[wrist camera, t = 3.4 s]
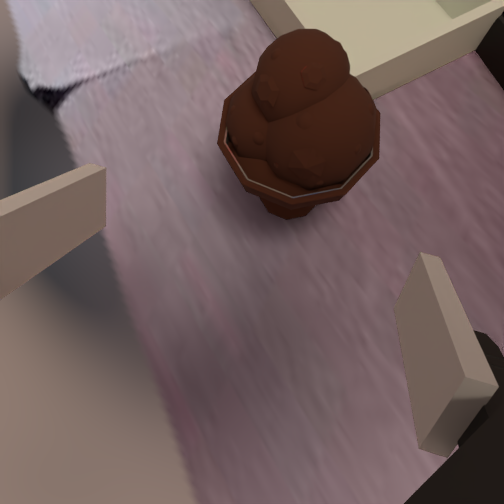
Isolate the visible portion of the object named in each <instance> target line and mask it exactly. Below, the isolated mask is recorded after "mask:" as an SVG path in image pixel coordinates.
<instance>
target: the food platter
mask: <svg viewBox="0 0 504 504" xmlns="http://www.w3.org/2000/svg"><path fill="white" fill-rule="evenodd" d="M502 13H503V12H502ZM475 51H476V52H477V53H478V55H479V56H480V58H481V59H482V60H483V62H484V63H485V65H486V66H487V67H488V69H489V70H490V72H491V73H492V74H493V76H494V77H495V79H496V80H497V81H498V83H499V84H500V86H501V87H502V88H503V90H504V15H503V14H501V15H500V16H499V17H498V18H497V19H496V20H495V22H494V23H493V25H492V26H491V28H490V29H489V30H488V32H487V33H486V35H485V36H484V38H483V39H482V41H481V42H480V44H479V45H478V47H477V48H476V50H475Z"/></svg>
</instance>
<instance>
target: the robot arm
mask: <svg viewBox="0 0 504 504" xmlns="http://www.w3.org/2000/svg"><path fill="white" fill-rule="evenodd" d="M105 226H106V168H105V167H102V166H98V165H94V164H90V163H89V164H87V165H84V166H82V167H79V168H77V169H74V170H72V171H70V172H67V173H65V174H62V175H61V176H58V177H55V178H53V179H50V180H48V181H46V182H43V183H41V184H38V185H36V186H33V187H31V188H29V189H26V190H24V191H21V192H19V193H17V194H14V195H12V196H9V197H7V198H5V199H2V200H0V300H1V299H3V298H4V297H5V296H7V295H8V294H10V293H11V292H13V291H14V290H15V289H17V288H18V287H20V286H21V285H23V284H24V283H25V282H27V281H28V280H30V279H31V278H32V277H34V276H35V275H37V274H38V273H40V272H41V271H42V270H44V269H45V268H47V267H48V266H50V265H51V264H52V263H54V262H55V261H57V260H58V259H60V258H61V257H62V256H64V255H65V254H66V253H68V252H70V251H71V250H72V249H74V248H75V247H77V246H78V245H80V244H81V243H82V242H84V241H85V240H87V239H88V238H89V237H91V236H92V235H94V234H95V233H97V232H98V231H100V230H101V229H102V228H104V227H105ZM394 313H395V318H396V324H397V329H398V335H399V340H400V346H401V352H402V357H403V363H404V368H405V374H406V380H407V385H408V391H409V396H410V402H411V407H412V413H413V419H414V424H415V430H416V435H417V441H418V446H419V449H422V450H425V451H428V452H431V453H434V454H437V455H440V456H443V457H447V458H448V457H449V455H450V454H451V452H452V451H453V450H454V448H455V447H456V446H457V444H458V445H459V449H458V450H457V451H456V452H455V453H454V454H453V455H452V456H451V457H450V458H449V459H448V460H447V461H446V462H445V463H444V464H443V465H442V466H441V467H440V468H439V469H438V470H437V471H436V472H435V473H434V474H433V475H432V476H431V477H430V478H429V479H428V480H427V481H426V482H425V483H424V484H423V485H422V486H421V487H420V488H419V489H418V490H417V491H416V492H415V493H414V494H413V495H412V496H411V497H410V498H409V499H408V500H407V501H406V502H405V503H404V504H504V357H503V355H502V353H501V351H500V349H499V347H498V346H497V345H496V344H495V343H494V342H493V341H492V340H491V339H490V338H489V337H488V336H487V334H485V333H481V332H477V331H474V330H473V329H472V327H471V324H470V322H469V320H468V318H467V316H466V313H465V311H464V309H463V307H462V305H461V302H460V300H459V298H458V296H457V294H456V291H455V289H454V287H453V285H452V283H451V280H450V278H449V276H448V274H447V272H446V269H445V267H444V265H443V263H442V261H441V258H440V257H437V256H433V255H429V254H426V253H422V252H420V253H419V255H418V257H417V259H416V262H415V264H414V266H413V268H412V270H411V272H410V274H409V277H408V279H407V281H406V283H405V285H404V287H403V289H402V292H401V294H400V296H399V298H398V300H397V302H396V305H395V307H394Z"/></svg>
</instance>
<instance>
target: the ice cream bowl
mask: <svg viewBox="0 0 504 504" xmlns="http://www.w3.org/2000/svg"><path fill="white" fill-rule="evenodd" d="M217 144H218V146H219V148H220V149H221V151H222V153H223V155H224V156H225V158H226V159H227V161H228V163H229V164H230V166H231V168H232V169H233V171H234V172H235V174H236V176H237V177H238V179H239V181H240V182H241V184H242V185H243V187H244V189H245V190H246V192H249V193H251V194H254V195H256V196H259V198H260V199H261V201H262V202H263V204H264V206H265V207H266V209H267V210H268V212H269V213H272V214H274V215H277V216H279V217H281V218H284V219H286V220H287V219H292V218H298V217H303V216H306V215H307V214H308V213H309V212H310V211H311V210H312V209H313V208H314V207H315V205H318V204H323V203H328V202H333V201H338V200H340V199H341V198H342V197H343V196H344V195H345V194H346V193H347V192H348V191H349V190H350V189H351V188H352V187H353V186H354V185H355V184H356V183H357V182H358V180H359V179H360V178H361V177H362V176H363V175H364V174H365V173H366V172H367V171H368V170H369V169H370V168H371V166H372V165H373V164H374V163H375V162H376V161H377V160H378V159H379V144H380V112H379V111H378V110H377V108H376V106H375V104H374V101H373V99H372V97H371V95H370V93H369V91H368V90H367V89H366V88H365V87H363V86H362V85H361V83H360V82H359V81H358V79H357V78H356V77H354V76H353V75H351V74H350V63H349V59H348V55H347V53H346V51H345V50H344V49H343V47H342V45H341V43H340V42H338V41H337V40H334V39H333V38H332V37H330V36H329V35H328V34H326V33H325V32H323V31H320V30H318V29H296V30H294V31H291V32H289V33H286V34H284V35H281V36H279V37H278V38H277V39H276V40H275V41H274V42H273V43H272V44H271V45H269V46H268V47H267V48H266V50H265V51H264V52H263V54H262V55H261V56H260V59H259V62H258V66H257V70H256V72H255V73H254V74H253V75H251V76H250V77H249V78H248V79H247V80H246V81H245V82H244V83H243V84H241V85H240V86H239V87H238V88H237V89H236V90H235V91H234V92H233V93H232V94H230V95H229V96H228V97H227V98H226V99H225V100H224V105H223V111H222V118H221V124H220V130H219V136H218V142H217Z"/></svg>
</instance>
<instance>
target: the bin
mask: <svg viewBox="0 0 504 504" xmlns="http://www.w3.org/2000/svg"><path fill="white" fill-rule="evenodd" d="M250 1H251V3H252V4H253V6H254V7H255V8H256V10H257V11H258V13H259V14H260V15H261V17H262V18H263V20H264V21H265V23H266V24H267V25H268V27H269V28H270V30H271V31H272V32H273V34H274V35H275V37H276V38H278V37H279V36H281V35H284V34H286V33H289V32H291V31H294V30H296V29H318V30H320V31H323V32H325V33H326V34H328V35H329V36H330V37H332V38H333V39H334V40H337V41H338V42H340V43H341V45H342V47H343V49H344V50H345V51H346V53H347V55H348V59H349V63H350V74H351V75H353V76H354V77H356V78H357V79H358V81H359V82H360V83H361V85H362V86H363V87H365V88H366V89H367V90H368V91H369V93H370V95H371V97H372V99H373V100H374V99H376V98H378V97H380V96H382V95H384V94H386V93H388V92H390V91H392V90H394V89H396V88H398V87H400V86H403V85H405V84H407V83H409V82H411V81H413V80H415V79H417V78H419V77H421V76H423V75H425V74H427V73H429V72H431V71H433V70H435V69H437V68H439V67H441V66H444V65H446V64H448V63H450V62H452V61H454V60H456V59H458V58H460V57H462V56H464V55H466V54H468V53H470V52H472V51H474V50H476V48H477V47H478V45H479V44H480V42H481V41H482V39H483V38H484V36H485V35H486V33H487V32H488V30H489V29H490V28H491V26H492V25H493V23H494V22H495V20H496V19H497V18H498V17H499V16H500V15H501V14H502V12H503V11H504V0H250Z"/></svg>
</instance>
